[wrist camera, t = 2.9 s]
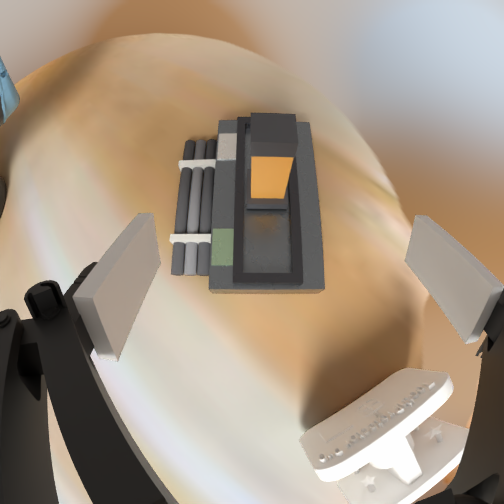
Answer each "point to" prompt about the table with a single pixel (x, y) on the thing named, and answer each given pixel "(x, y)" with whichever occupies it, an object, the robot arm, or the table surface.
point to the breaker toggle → (271, 159)
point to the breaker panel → (264, 222)
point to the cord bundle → (194, 209)
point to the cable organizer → (388, 440)
